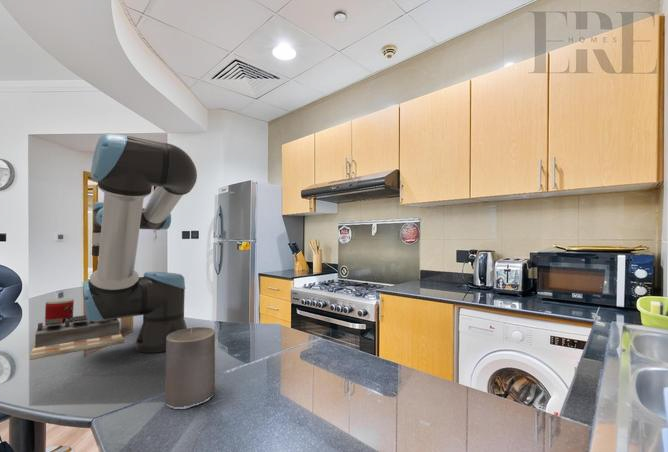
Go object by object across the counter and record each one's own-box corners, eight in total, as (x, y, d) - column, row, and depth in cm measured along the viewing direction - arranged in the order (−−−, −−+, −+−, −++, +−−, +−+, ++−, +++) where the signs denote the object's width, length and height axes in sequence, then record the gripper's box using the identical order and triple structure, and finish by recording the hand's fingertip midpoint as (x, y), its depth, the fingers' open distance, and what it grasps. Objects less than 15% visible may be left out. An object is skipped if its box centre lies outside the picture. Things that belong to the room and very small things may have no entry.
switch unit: (123, 342, 102) (124, 320, 102) (30, 359, 88) (31, 333, 88) (117, 330, 116) (117, 310, 116) (35, 343, 101) (36, 320, 102)
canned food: (67, 331, 115) (68, 301, 115) (40, 333, 112) (41, 302, 112) (76, 326, 122) (77, 297, 122) (50, 328, 119) (51, 299, 119)
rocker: (61, 322, 98) (61, 317, 99) (45, 324, 96) (46, 319, 96) (61, 323, 105) (61, 319, 105) (47, 325, 103) (47, 320, 103)
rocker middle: (87, 318, 103) (87, 314, 103) (73, 320, 100) (73, 316, 101) (86, 320, 109) (86, 316, 109) (72, 321, 107) (72, 317, 107)
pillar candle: (184, 385, 72) (185, 320, 73) (223, 388, 71) (223, 322, 71) (153, 408, 63) (154, 333, 63) (197, 412, 61) (198, 335, 62)
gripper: (120, 245, 110) (117, 312, 110) (115, 244, 120) (113, 305, 120) (93, 245, 105) (90, 315, 105) (91, 244, 115) (88, 308, 115)
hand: (103, 310), depth 112 cm, fingers closed
